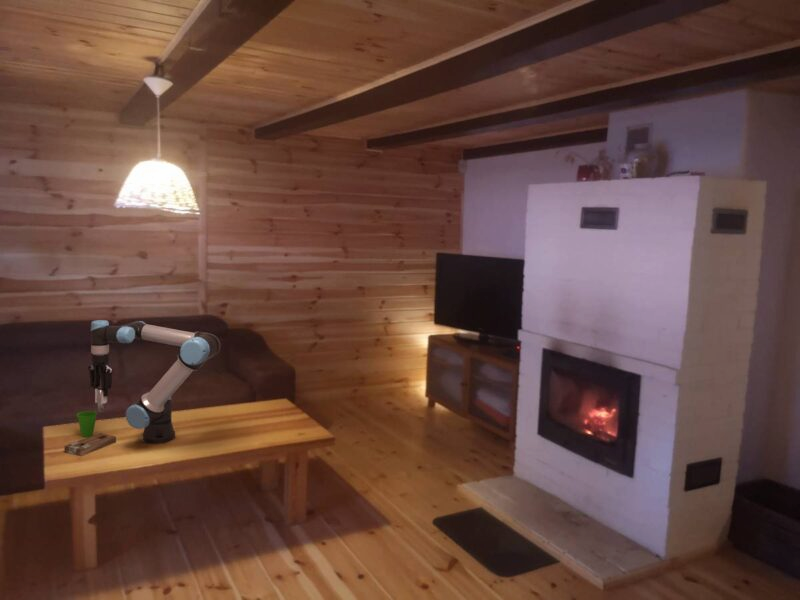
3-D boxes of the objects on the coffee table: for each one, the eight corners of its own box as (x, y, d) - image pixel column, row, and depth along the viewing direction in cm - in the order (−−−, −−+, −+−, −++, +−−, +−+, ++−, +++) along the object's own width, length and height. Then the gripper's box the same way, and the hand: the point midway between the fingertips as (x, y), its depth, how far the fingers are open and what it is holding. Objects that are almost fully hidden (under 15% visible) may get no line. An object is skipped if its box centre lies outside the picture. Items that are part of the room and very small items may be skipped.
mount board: (116, 442, 301) (116, 436, 300) (80, 456, 282) (80, 449, 282) (100, 439, 304) (100, 432, 304) (64, 452, 286) (64, 445, 285)
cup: (89, 439, 303) (88, 417, 302) (72, 437, 305) (72, 415, 303) (101, 433, 312) (101, 412, 310) (85, 431, 314) (85, 410, 312)
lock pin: (106, 410, 298) (105, 385, 296) (101, 412, 295) (100, 387, 293) (101, 409, 299) (101, 384, 297) (96, 411, 296) (95, 386, 295)
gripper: (119, 354, 294) (120, 402, 297) (94, 350, 300) (94, 398, 303) (106, 356, 287) (107, 406, 290) (80, 352, 293) (81, 402, 296)
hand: (101, 402), depth 296 cm, fingers closed on lock pin, 3 cm apart
